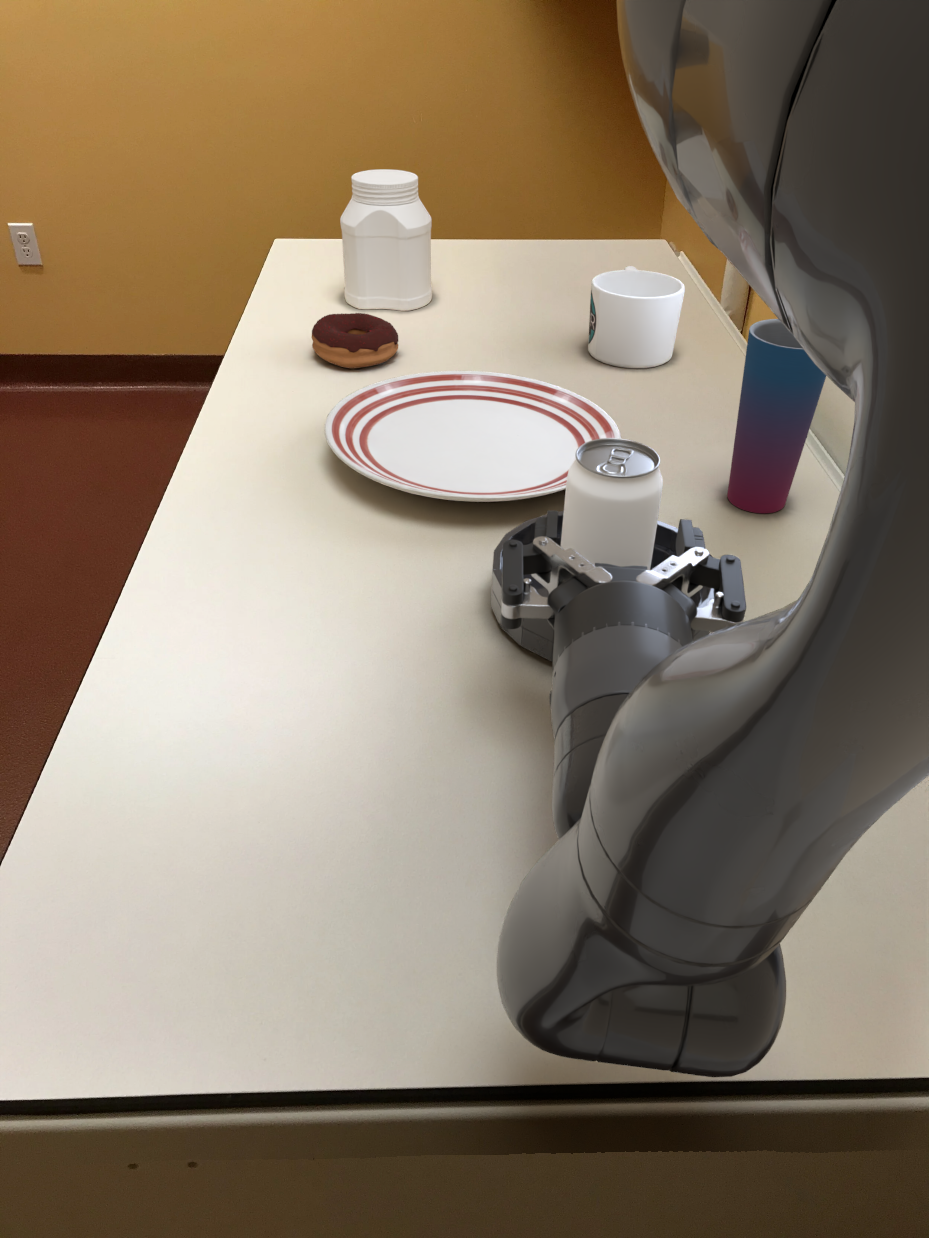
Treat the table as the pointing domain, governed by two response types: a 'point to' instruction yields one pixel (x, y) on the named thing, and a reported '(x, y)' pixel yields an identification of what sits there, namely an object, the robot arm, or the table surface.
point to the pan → (539, 631)
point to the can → (613, 502)
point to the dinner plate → (465, 434)
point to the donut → (354, 340)
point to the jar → (386, 242)
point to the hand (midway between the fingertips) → (616, 526)
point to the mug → (634, 317)
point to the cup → (772, 417)
